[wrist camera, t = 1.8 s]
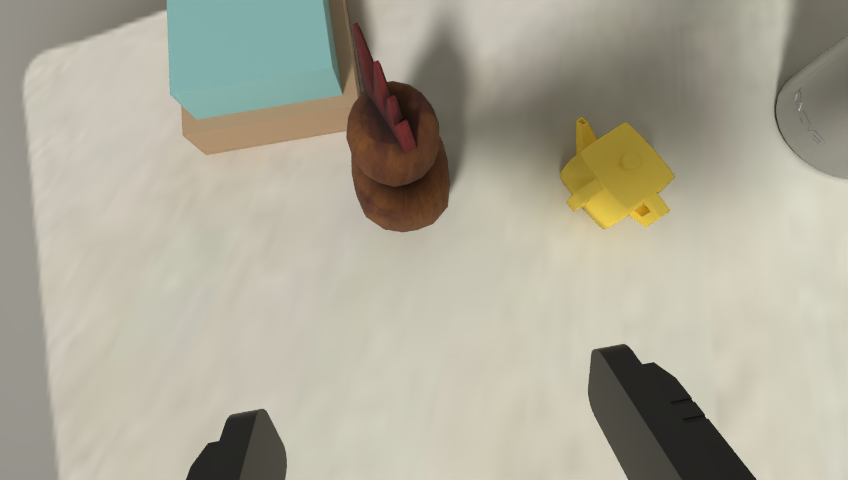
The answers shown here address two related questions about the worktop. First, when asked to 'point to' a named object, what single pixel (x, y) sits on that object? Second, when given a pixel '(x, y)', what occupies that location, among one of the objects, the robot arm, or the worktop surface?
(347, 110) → the tower base
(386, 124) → the wooden figurine
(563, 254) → the worktop surface
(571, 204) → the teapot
